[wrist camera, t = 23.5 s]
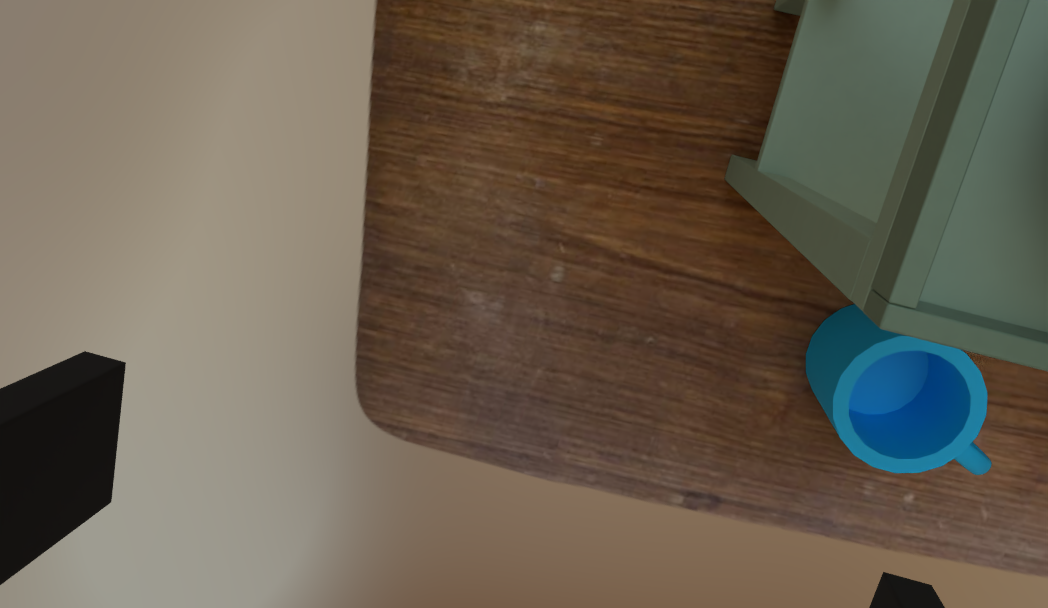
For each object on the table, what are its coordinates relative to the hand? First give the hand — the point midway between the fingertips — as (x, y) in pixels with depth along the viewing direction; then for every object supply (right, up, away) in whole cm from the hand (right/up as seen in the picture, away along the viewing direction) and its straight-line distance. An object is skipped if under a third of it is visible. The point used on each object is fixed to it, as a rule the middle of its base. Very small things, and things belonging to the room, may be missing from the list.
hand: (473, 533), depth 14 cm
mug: (+25, -1, +40) cm, 47 cm away
